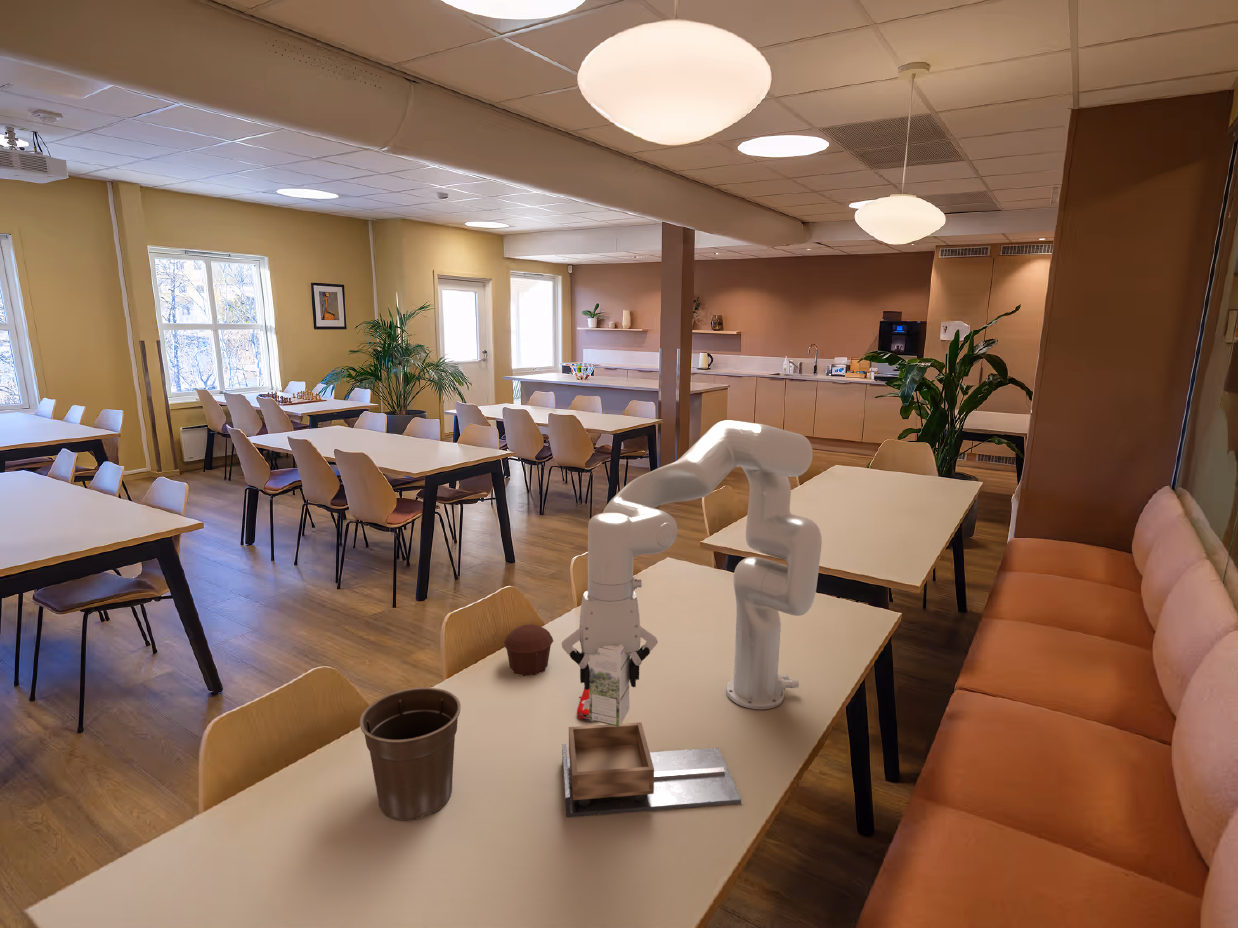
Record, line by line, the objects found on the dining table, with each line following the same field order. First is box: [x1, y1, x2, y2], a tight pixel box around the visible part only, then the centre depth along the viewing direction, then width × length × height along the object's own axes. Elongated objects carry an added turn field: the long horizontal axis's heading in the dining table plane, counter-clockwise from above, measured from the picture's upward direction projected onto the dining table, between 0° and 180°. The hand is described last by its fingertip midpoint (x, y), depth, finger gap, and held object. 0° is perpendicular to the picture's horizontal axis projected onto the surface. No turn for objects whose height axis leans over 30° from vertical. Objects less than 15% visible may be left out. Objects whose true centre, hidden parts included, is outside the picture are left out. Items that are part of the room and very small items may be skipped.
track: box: [561, 743, 742, 819], centre depth 117 cm, size 30×14×4 cm, turn 97°
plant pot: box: [359, 687, 462, 821], centre depth 112 cm, size 16×16×16 cm
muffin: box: [503, 623, 554, 677], centre depth 157 cm, size 12×11×10 cm
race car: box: [576, 686, 591, 722], centre depth 141 cm, size 13×5×4 cm, turn 172°
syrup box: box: [588, 644, 631, 727], centre depth 113 cm, size 6×6×14 cm
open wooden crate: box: [568, 721, 654, 806], centre depth 116 cm, size 14×14×7 cm
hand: (609, 683), depth 113 cm, fingers closed on syrup box, 7 cm apart
